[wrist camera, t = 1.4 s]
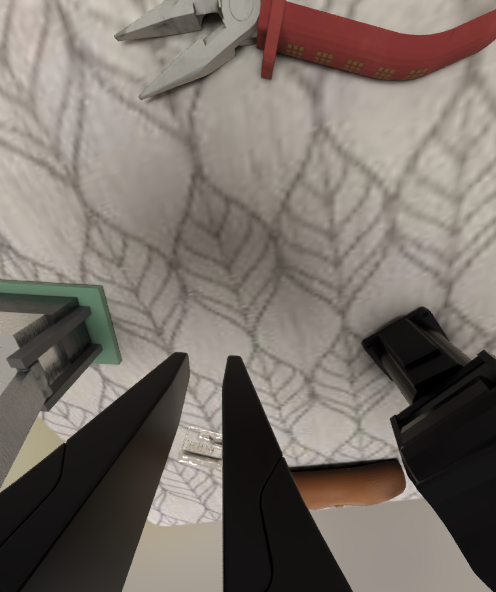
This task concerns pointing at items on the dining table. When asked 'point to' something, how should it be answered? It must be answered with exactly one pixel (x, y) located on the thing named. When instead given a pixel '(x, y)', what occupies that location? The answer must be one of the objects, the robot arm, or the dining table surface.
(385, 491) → the sunglasses case
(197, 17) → the pliers
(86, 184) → the dining table surface
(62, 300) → the heat sink
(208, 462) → the clear plastic blister pack
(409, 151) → the dining table surface
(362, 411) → the dining table surface
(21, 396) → the grey hinged lever
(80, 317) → the socket board
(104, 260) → the dining table surface
